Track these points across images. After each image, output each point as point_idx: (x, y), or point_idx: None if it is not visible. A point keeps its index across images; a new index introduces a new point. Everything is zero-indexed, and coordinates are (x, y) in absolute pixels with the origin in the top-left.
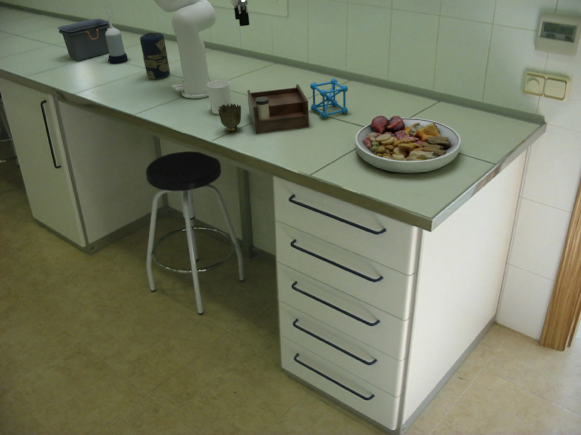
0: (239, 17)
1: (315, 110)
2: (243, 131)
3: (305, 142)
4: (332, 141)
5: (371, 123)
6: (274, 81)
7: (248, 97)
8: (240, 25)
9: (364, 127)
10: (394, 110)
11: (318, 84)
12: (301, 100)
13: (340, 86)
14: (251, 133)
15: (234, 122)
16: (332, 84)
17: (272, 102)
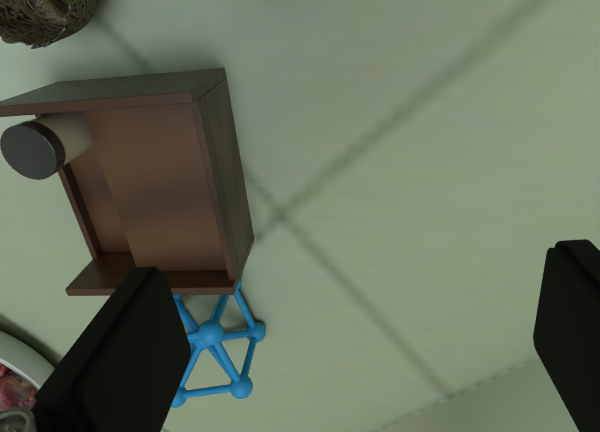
0: (78, 351)
1: None
2: (74, 36)
3: (13, 219)
4: (28, 278)
5: (5, 382)
6: (576, 195)
7: (168, 88)
8: (134, 274)
9: (3, 363)
10: (209, 420)
11: (216, 348)
12: None
13: (192, 392)
14: (59, 66)
15: (15, 5)
16: (231, 377)
17: (136, 179)
